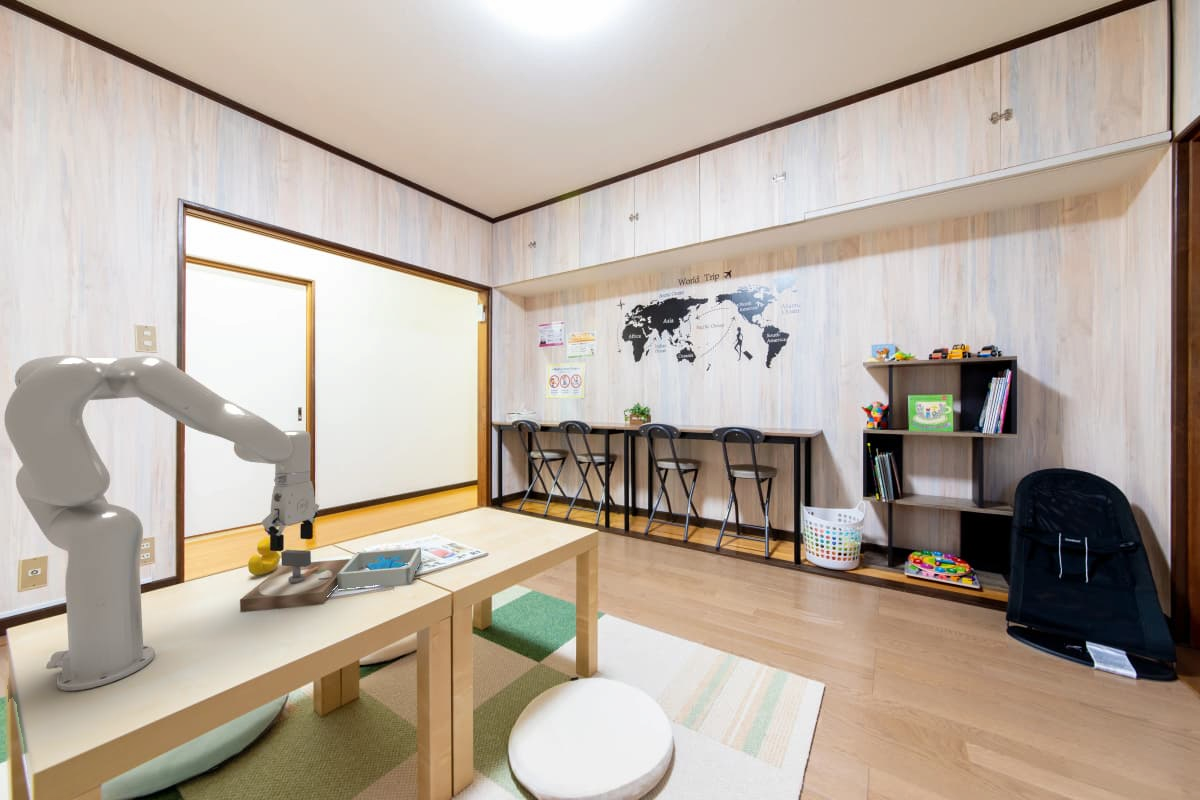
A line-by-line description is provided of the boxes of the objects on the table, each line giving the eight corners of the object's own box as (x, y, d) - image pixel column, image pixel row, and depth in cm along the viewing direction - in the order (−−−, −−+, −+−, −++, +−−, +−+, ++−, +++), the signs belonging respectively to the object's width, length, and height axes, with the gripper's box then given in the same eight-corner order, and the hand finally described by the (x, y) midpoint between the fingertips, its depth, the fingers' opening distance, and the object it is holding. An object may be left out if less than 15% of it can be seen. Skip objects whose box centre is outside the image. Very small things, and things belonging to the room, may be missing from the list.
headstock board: (240, 611, 108) (239, 598, 108) (284, 574, 130) (284, 563, 130) (322, 603, 112) (322, 590, 112) (352, 568, 134) (352, 557, 133)
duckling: (272, 564, 138) (271, 531, 137) (290, 564, 137) (289, 531, 137) (242, 580, 126) (241, 545, 126) (260, 580, 126) (259, 545, 126)
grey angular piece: (303, 583, 116) (302, 554, 115) (279, 582, 117) (278, 553, 116) (329, 569, 124) (328, 542, 124) (306, 568, 125) (305, 541, 125)
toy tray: (337, 591, 119) (337, 574, 119) (357, 567, 135) (357, 552, 135) (410, 584, 123) (409, 568, 123) (421, 561, 138) (420, 547, 138)
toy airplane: (364, 573, 131) (363, 559, 131) (399, 564, 137) (399, 550, 137) (373, 587, 122) (373, 572, 122) (411, 576, 128) (410, 562, 128)
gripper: (278, 485, 108) (278, 556, 108) (329, 473, 125) (329, 535, 125) (250, 484, 109) (249, 555, 109) (305, 472, 126) (304, 534, 126)
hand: (292, 544), depth 117 cm, fingers open, 9 cm apart
